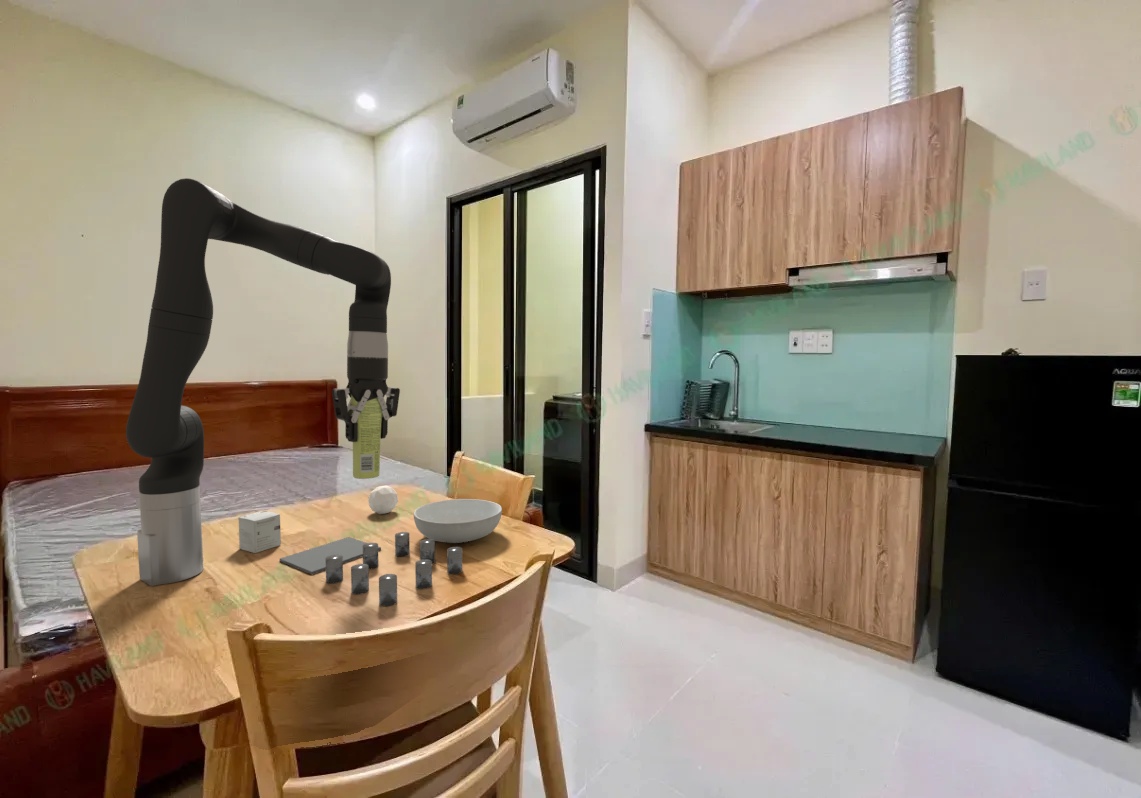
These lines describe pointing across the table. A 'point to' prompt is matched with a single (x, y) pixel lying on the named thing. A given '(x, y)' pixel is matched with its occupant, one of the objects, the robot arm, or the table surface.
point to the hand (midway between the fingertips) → (367, 439)
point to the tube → (367, 441)
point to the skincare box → (259, 531)
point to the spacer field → (390, 580)
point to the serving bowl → (457, 519)
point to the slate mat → (325, 555)
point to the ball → (383, 499)
